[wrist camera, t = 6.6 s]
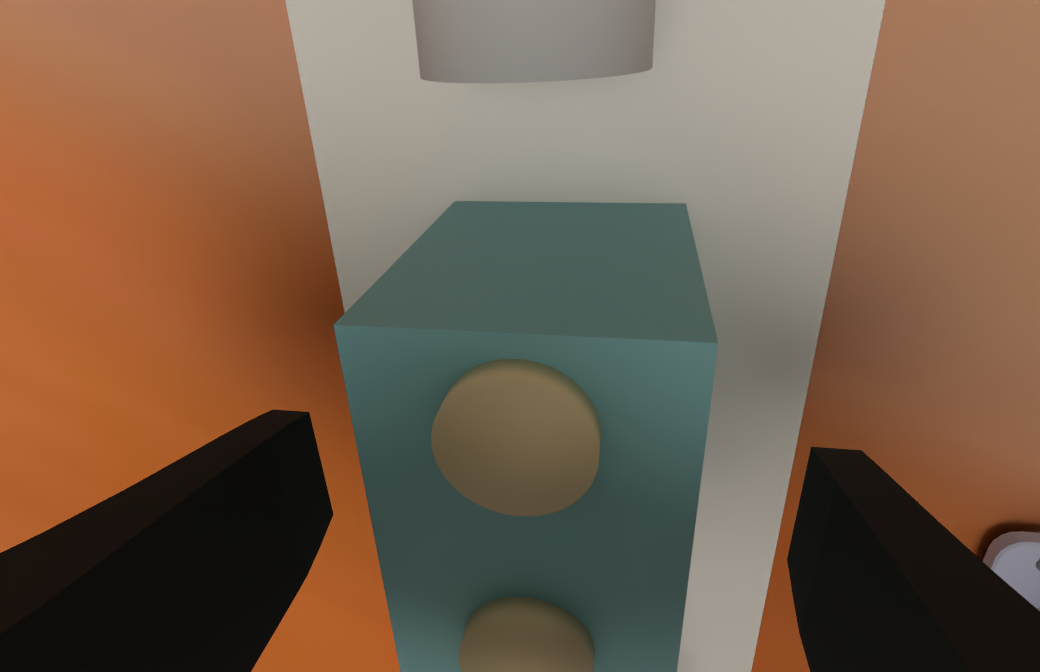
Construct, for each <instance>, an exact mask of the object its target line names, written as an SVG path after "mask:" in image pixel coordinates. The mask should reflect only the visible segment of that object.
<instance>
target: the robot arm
mask: <svg viewBox="0 0 1040 672" xmlns="http://www.w3.org/2000/svg"><path fill="white" fill-rule="evenodd" d="M332 516H333V511H332V507H331V503H330V498H329V494H328V490H327V486H326V481H325V477H324V473H323V469H322V465H321V460H320V456H319V452H318V448H317V443H316V439H315V435H314V431H313V427H312V422H311V418H310V414H309V412H299V411H284V410H271V411H269V412H267V413H265V414H262V415H260V416H258V417H256V418H254V419H252V420H250V421H248V422H246V423H244V424H242V425H241V426H239V427H237V428H235V429H233V430H231V431H229V432H228V433H226V434H224V435H222V436H220V437H218V438H217V439H215V440H213V441H211V442H209V443H208V444H206V445H204V446H202V447H201V448H199V449H197V450H195V451H193V452H192V453H190V454H188V455H186V456H185V457H183V458H181V459H179V460H177V461H176V462H174V463H172V464H170V465H168V466H167V467H165V468H163V469H161V470H160V471H158V472H156V473H154V474H152V475H151V476H149V477H147V478H145V479H143V480H142V481H140V482H138V483H136V484H134V485H133V486H131V487H129V488H127V489H125V490H123V491H121V492H120V493H118V494H116V495H114V496H112V497H110V498H108V499H106V500H104V501H102V502H100V503H99V504H97V505H95V506H93V507H91V508H89V509H87V510H85V511H83V512H81V513H79V514H78V515H76V516H74V517H72V518H70V519H68V520H66V521H64V522H62V523H60V524H58V525H56V526H55V527H53V528H51V529H49V530H47V531H45V532H43V533H41V534H39V535H37V536H35V537H33V538H31V539H29V540H27V541H25V542H23V543H21V544H18V545H16V546H14V547H12V548H10V549H8V550H6V551H4V552H2V553H0V672H251V670H252V669H253V667H254V665H255V664H256V662H257V660H258V659H259V657H260V655H261V654H262V652H263V650H264V649H265V647H266V645H267V644H268V642H269V640H270V639H271V637H272V635H273V634H274V632H275V630H276V628H277V627H278V625H279V623H280V622H281V620H282V618H283V617H284V615H285V613H286V611H287V610H288V608H289V606H290V605H291V603H292V601H293V599H294V598H295V596H296V594H297V592H298V591H299V589H300V587H301V585H302V584H303V582H304V580H305V578H306V577H307V575H308V573H309V570H310V568H311V566H312V564H313V561H314V559H315V557H316V555H317V553H318V550H319V548H320V546H321V543H322V541H323V538H324V536H325V533H326V531H327V528H328V526H329V524H330V521H331V519H332ZM787 561H788V567H789V574H790V580H791V586H792V593H793V599H794V605H795V610H796V616H797V622H798V627H799V633H800V637H801V640H802V644H803V647H804V651H805V654H806V658H807V661H808V665H809V668H810V672H1040V533H1036V532H1024V531H1018V532H1009V533H1005V534H1002V535H1000V536H999V537H997V538H996V539H994V540H993V541H992V543H991V544H990V546H989V547H988V550H987V552H986V554H985V557H984V559H983V562H982V561H981V560H980V559H979V558H978V557H977V556H976V555H975V554H974V553H972V552H971V551H970V550H969V549H968V548H967V547H966V546H965V545H963V544H962V543H961V542H960V541H959V540H958V539H957V538H956V537H955V536H954V535H952V534H951V533H950V532H949V531H948V530H947V529H946V528H945V527H944V526H943V525H942V524H940V523H939V522H938V521H937V520H936V519H935V518H934V517H933V516H932V515H931V514H930V513H929V512H928V511H926V510H925V509H924V508H923V507H922V506H921V505H920V504H919V503H918V502H917V501H916V500H915V499H914V498H912V497H911V496H910V495H909V494H908V493H907V492H906V491H905V490H904V489H903V488H902V487H901V486H900V485H899V484H898V483H896V482H895V481H894V480H893V479H892V478H891V477H890V476H889V475H888V474H887V473H886V472H885V471H884V470H882V469H881V468H880V467H879V466H878V465H877V464H876V463H875V462H874V461H873V460H871V459H870V458H869V457H868V456H867V455H866V454H865V453H864V452H862V451H861V450H848V449H834V448H819V447H811V451H810V455H809V460H808V465H807V469H806V474H805V479H804V483H803V488H802V493H801V497H800V502H799V507H798V511H797V516H796V521H795V526H794V530H793V535H792V540H791V544H790V549H789V554H788V558H787Z"/></svg>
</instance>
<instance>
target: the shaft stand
mask: <svg viewBox="0 0 1040 672" xmlns="http://www.w3.org/2000/svg"><path fill="white" fill-rule="evenodd" d="M285 1H286V6H287V12H288V17H289V22H290V27H291V33H292V38H293V43H294V48H295V54H296V59H297V64H298V70H299V75H300V80H301V85H302V91H303V96H304V101H305V106H306V112H307V117H308V122H309V128H310V133H311V138H312V143H313V149H314V154H315V159H316V164H317V170H318V175H319V180H320V185H321V191H322V196H323V201H324V207H325V212H326V217H327V222H328V228H329V233H330V238H331V243H332V249H333V254H334V259H335V265H336V270H337V275H338V280H339V286H340V291H341V296H342V301H343V307H344V312H346V311H347V310H348V309H349V308H350V307H351V306H352V305H353V304H354V303H355V302H356V301H357V300H358V299H359V298H360V297H361V296H362V295H363V294H364V293H365V292H366V291H367V290H368V289H369V288H370V287H371V286H372V285H373V284H374V283H375V282H376V281H377V280H378V279H379V278H380V277H381V276H382V275H383V274H384V273H385V272H386V271H387V270H388V269H389V268H390V267H391V266H392V265H393V264H394V263H395V262H396V260H397V259H398V258H399V257H400V256H401V255H402V254H403V253H404V252H405V251H406V250H407V249H408V248H409V247H410V246H411V245H412V244H413V243H414V242H415V241H416V240H417V239H418V238H419V237H420V236H421V235H422V234H423V233H424V232H425V231H426V230H427V229H428V228H429V227H430V226H431V225H432V224H433V223H434V222H435V221H436V220H437V219H438V218H439V217H440V216H441V215H442V214H443V213H444V212H445V211H446V210H447V209H448V208H449V206H450V205H451V204H452V203H453V202H454V201H505V202H595V203H686V206H687V210H688V215H689V219H690V223H691V228H692V232H693V236H694V240H695V245H696V249H697V253H698V258H699V262H700V266H701V271H702V275H703V279H704V283H705V288H706V292H707V296H708V301H709V305H710V309H711V314H712V318H713V322H714V327H715V331H716V335H717V339H718V350H717V358H716V366H715V374H714V382H713V390H712V398H711V405H710V413H709V421H708V429H707V437H706V445H705V453H704V461H703V469H702V477H701V485H700V493H699V501H698V509H697V516H696V524H695V532H694V540H693V548H692V556H691V564H690V572H689V580H688V588H687V596H686V604H685V612H684V620H683V627H682V635H681V643H680V651H679V659H678V667H677V672H751V669H752V664H753V659H754V654H755V649H756V644H757V639H758V634H759V629H760V624H761V619H762V614H763V609H764V604H765V599H766V594H767V589H768V584H769V579H770V574H771V569H772V565H773V560H774V555H775V550H776V545H777V540H778V535H779V530H780V525H781V520H782V515H783V510H784V505H785V500H786V495H787V490H788V485H789V480H790V475H791V470H792V465H793V460H794V455H795V450H796V445H797V440H798V435H799V430H800V425H801V420H802V415H803V410H804V405H805V400H806V395H807V390H808V385H809V380H810V375H811V370H812V365H813V360H814V355H815V350H816V345H817V340H818V335H819V330H820V325H821V320H822V315H823V310H824V305H825V300H826V295H827V290H828V285H829V280H830V275H831V270H832V265H833V260H834V255H835V250H836V245H837V240H838V235H839V230H840V225H841V221H842V216H843V211H844V206H845V201H846V196H847V191H848V186H849V181H850V176H851V171H852V166H853V161H854V156H855V151H856V146H857V141H858V136H859V131H860V126H861V121H862V116H863V111H864V106H865V101H866V96H867V91H868V86H869V81H870V76H871V71H872V66H873V61H874V56H875V51H876V46H877V41H878V36H879V31H880V26H881V21H882V16H883V11H884V6H885V1H886V0H285Z"/></svg>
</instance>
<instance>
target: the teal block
mask: <svg viewBox="0 0 1040 672" xmlns="http://www.w3.org/2000/svg"><path fill="white" fill-rule="evenodd" d="M333 326H334V331H335V336H336V341H337V346H338V352H339V357H340V362H341V367H342V372H343V377H344V382H345V388H346V393H347V398H348V403H349V408H350V413H351V419H352V424H353V429H354V434H355V439H356V444H357V450H358V455H359V460H360V465H361V470H362V475H363V480H364V486H365V491H366V496H367V501H368V506H369V511H370V517H371V522H372V527H373V532H374V537H375V542H376V547H377V553H378V558H379V563H380V568H381V573H382V578H383V584H384V589H385V594H386V599H387V604H388V609H389V614H390V620H391V625H392V630H393V635H394V640H395V645H396V651H397V656H398V661H399V666H400V671H401V672H677V667H678V659H679V651H680V643H681V635H682V627H683V620H684V612H685V604H686V596H687V588H688V580H689V572H690V564H691V556H692V548H693V540H694V532H695V524H696V516H697V509H698V501H699V493H700V485H701V477H702V469H703V461H704V453H705V445H706V437H707V429H708V421H709V413H710V405H711V398H712V390H713V382H714V374H715V366H716V358H717V350H718V339H717V335H716V331H715V327H714V322H713V318H712V314H711V309H710V305H709V301H708V296H707V292H706V288H705V283H704V279H703V275H702V271H701V266H700V262H699V258H698V253H697V249H696V245H695V240H694V236H693V232H692V228H691V223H690V219H689V215H688V210H687V206H686V203H595V202H505V201H454V202H453V203H452V204H451V205H450V206H449V208H448V209H447V210H446V211H445V212H444V213H443V214H442V215H441V216H440V217H439V218H438V219H437V220H436V221H435V222H434V223H433V224H432V225H431V226H430V227H429V228H428V229H427V230H426V231H425V232H424V233H423V234H422V235H421V236H420V237H419V238H418V239H417V240H416V241H415V242H414V243H413V244H412V245H411V246H410V247H409V248H408V249H407V250H406V251H405V252H404V253H403V254H402V255H401V256H400V257H399V258H398V259H397V260H396V262H395V263H394V264H393V265H392V266H391V267H390V268H389V269H388V270H387V271H386V272H385V273H384V274H383V275H382V276H381V277H380V278H379V279H378V280H377V281H376V282H375V283H374V284H373V285H372V286H371V287H370V288H369V289H368V290H367V291H366V292H365V293H364V294H363V295H362V296H361V297H360V298H359V299H358V300H357V301H356V302H355V303H354V304H353V305H352V306H351V307H350V308H349V309H348V310H347V311H346V312H345V313H344V315H343V316H342V317H341V318H340V319H339V320H338V321H337V322H336V323H335V324H334V325H333Z"/></svg>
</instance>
